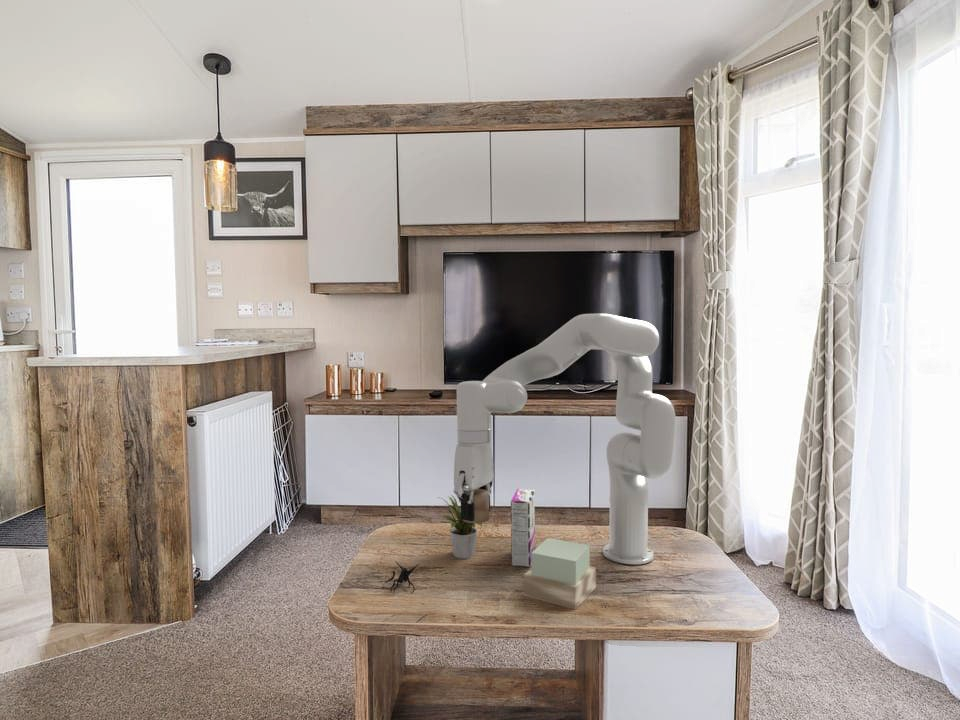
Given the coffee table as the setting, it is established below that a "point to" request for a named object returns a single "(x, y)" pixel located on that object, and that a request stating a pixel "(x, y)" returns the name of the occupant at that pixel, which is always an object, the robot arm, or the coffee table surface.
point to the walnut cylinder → (480, 506)
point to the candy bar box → (522, 527)
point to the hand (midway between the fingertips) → (475, 514)
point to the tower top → (560, 560)
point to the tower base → (560, 589)
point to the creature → (401, 577)
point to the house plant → (461, 533)
